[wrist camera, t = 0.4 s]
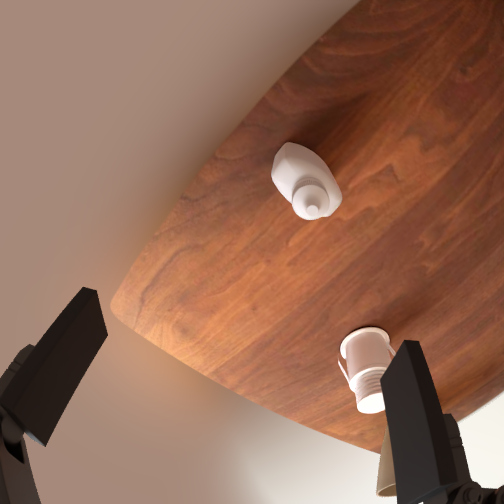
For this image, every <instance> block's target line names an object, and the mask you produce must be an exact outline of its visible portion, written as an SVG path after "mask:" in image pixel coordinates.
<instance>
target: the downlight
mask: <svg viewBox="0 0 504 504" xmlns="http://www.w3.org/2000/svg"><path fill="white" fill-rule="evenodd" d="M389 343H390V339H389V336H388V334H387V333H386V332H385V331H384V330H382V329H380V328H375V327H367V328H362V329H359V330H356V331H354V332H352V333H351V334H349V335H348V336H347V337H346V338H345V339H344V340H343V342H342V344H341V347H340V351H341V354H342V356H343V357H344V358H345V359H346V362H347V370H348V376H347V374H346V372H345V370H344V369H343V367H342V365H341V363H340V362H339V359H338V364H339V366H340V368H341V370H342V372H343V373H344V375H345V377H346V379H347V381H348V382H349V386H350V389H351V390H352V391H353V392H355V393H356V401H357V409H358V410H359V411H360V412H363V413H377V412H380V411H383V410H385V405H384V400H383V394H382V389H381V384H380V378H381V377H382V375H383V374H384V372H385V371H386V369H387V368H388V366H389V364H390V363H391V359H390V355H389V352H388V349H389V350H390V351H391V353H392V354H393V355H394V356H395V355H396V353H395V351H394V350H393V349H392V347H391V346H390V345H389ZM348 377H349V378H348Z"/></svg>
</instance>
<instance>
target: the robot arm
mask: <svg viewBox="0 0 504 504" xmlns="http://www.w3.org/2000/svg"><path fill="white" fill-rule="evenodd" d="M107 336H108V333H107V330H106V326H105V322H104V318H103V315H102V311H101V307H100V303H99V298H98V294H97V291H96V290H93V289H89V288H85V287H82V289H81V290H80V291H79V292H78V293H77V294H76V296H75V297H74V298H73V299H72V300H71V301H70V303H69V304H68V305H67V306H66V308H65V309H64V310H63V311H62V313H61V314H60V315H59V316H58V317H57V319H56V320H55V321H54V323H53V324H52V325H51V326H50V328H49V329H48V330H47V331H46V333H45V334H44V335H43V337H42V338H41V339H40V341H39V342H38V343H37V345H36V346H33V345H31V344H29V345H27V346H26V347H25V348H23V349H22V350H20V352H19V353H18V354H17V356H16V357H15V358H14V361H13V362H11V364H10V365H9V367H8V369H6V371H5V372H4V374H3V375H2V376H1V378H0V504H41V502H40V499H39V496H38V492H37V489H36V486H35V482H34V479H33V475H32V471H31V467H30V463H29V458H28V454H27V449H26V445H25V440H24V438H23V434H24V432H25V433H26V434H27V435H28V436H29V437H30V438H31V439H33V440H34V441H36V442H38V443H39V444H41V445H43V446H45V447H46V445H47V443H48V441H49V439H50V437H51V435H52V433H53V431H54V429H55V427H56V425H57V423H58V421H59V419H60V417H61V415H62V413H63V412H64V410H65V408H66V406H67V404H68V403H69V401H70V399H71V397H72V395H73V394H74V391H75V390H76V388H77V386H78V385H79V383H80V381H81V379H82V377H83V376H84V374H85V372H86V371H87V369H88V367H89V366H90V364H91V362H92V361H93V359H94V357H95V356H96V354H97V352H98V350H99V349H100V347H101V346H102V344H103V343H104V341H105V339H106V338H107ZM380 384H381V389H382V394H383V400H384V405H385V411H386V417H387V423H388V429H389V436H390V442H391V449H392V457H393V465H394V474H395V483H396V494H397V504H419V503H421V502H423V504H504V485H503V486H501V487H499V488H498V489H491V488H490V489H489V488H481V486H480V485H479V484H478V483H477V482H474V481H472V479H471V477H470V473H469V468H468V464H467V459H466V455H465V451H464V447H463V446H462V444H463V443H462V439H461V437H460V431H459V428H458V424H457V422H456V421H455V419H454V418H453V416H452V415H451V413H450V414H443V413H442V409H441V406H440V402H439V399H438V396H437V393H436V389H435V386H434V383H433V380H432V377H431V374H430V371H429V368H428V365H427V362H426V359H425V357H424V354H423V351H422V348H421V346H420V343H419V341H412V340H404V341H403V343H402V345H401V346H400V348H399V350H398V351H397V353H396V355H395V356H394V358H393V360H392V361H391V363H390V364H389V366H388V368H387V369H386V371H385V372H384V374H383V375H382V377H381V378H380Z"/></svg>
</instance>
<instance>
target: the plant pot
mask: <svg viewBox="0 0 504 504" xmlns="http://www.w3.org/2000/svg"><path fill="white" fill-rule="evenodd" d="M376 495H377V496H379V497H392V496H397V494H396V483H395V474H394V465H393V457H392V449H391V442H390V436H389V429H388V423H387V426H386V430H385V435H384V439H383V444H382V450H381V456H380V462H379V470H378V480H377V491H376Z"/></svg>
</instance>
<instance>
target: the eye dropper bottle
mask: <svg viewBox="0 0 504 504" xmlns="http://www.w3.org/2000/svg"><path fill="white" fill-rule="evenodd" d="M271 176H272V180H273V182H274V184H275V185H276V187H277V188H278V190H279V191H280V192H281V194H282V195H283V196H284V197H285V198H286V199H287V200H288V201H289V202H290V203H292V207H293V209H294V211H295V212H296V213H297V215H298V216H300V217H301V218H303V219H307V220H313V219H314V220H315V219H317V218H320V217H327V216H330V215H331V214H332V213H333V212H334V211H335V210H336V209H337V208H338V206H339V205H340V204H341V202H342V193H341V191H340V189H339V187H338V185H337V183H336V181H335V179H334V177H333V175H332V173H331V171H330V170H329V168H328V166H327V165H326V164H325V162H324V161H323V160H322V159H321V158H320V157H319V156H318V155H317V154H315V153H314V152H313V151H311V150H310V149H308V148H306V147H304V146H301V145H299V144H295V143H290V142H288V143H285V144H284V145H283V146H282V147H281V148H280V150H279V151H278V152H277V154H276V155H275V158H274V163H273V168H272V173H271Z"/></svg>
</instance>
